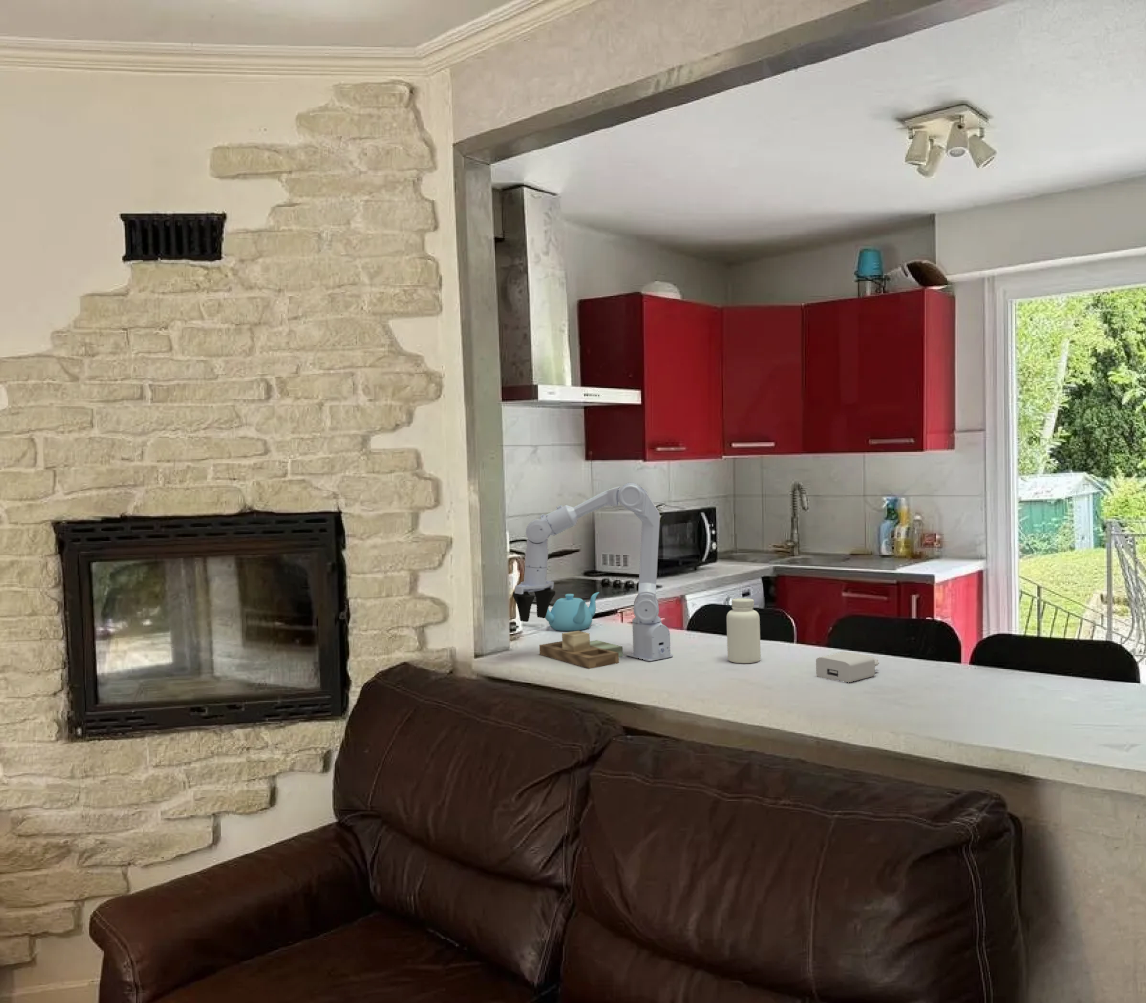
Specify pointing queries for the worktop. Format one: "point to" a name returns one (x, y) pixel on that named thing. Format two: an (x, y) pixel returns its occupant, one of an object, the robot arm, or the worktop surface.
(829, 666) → the charger
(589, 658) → the tray
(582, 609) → the teapot
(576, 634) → the birch block
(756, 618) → the pill bottle
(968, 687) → the worktop surface
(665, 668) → the worktop surface
